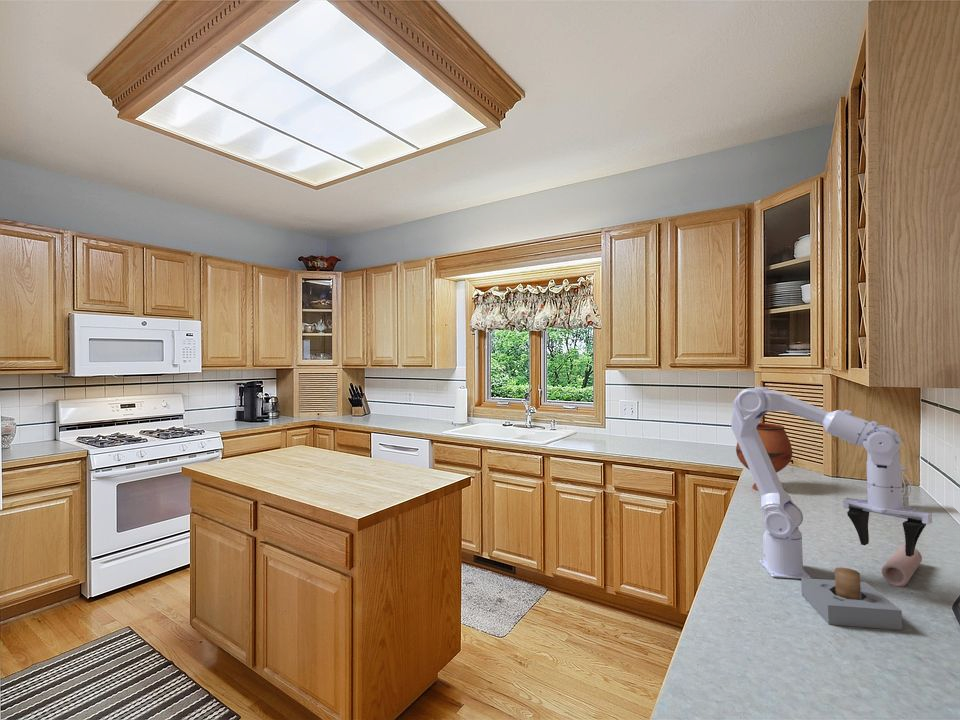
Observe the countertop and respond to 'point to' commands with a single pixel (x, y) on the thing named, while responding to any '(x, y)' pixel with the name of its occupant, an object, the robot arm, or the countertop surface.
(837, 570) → the walnut pin
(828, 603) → the bore block
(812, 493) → the countertop surface
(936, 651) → the countertop surface
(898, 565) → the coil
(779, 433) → the goblet
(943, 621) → the countertop surface
